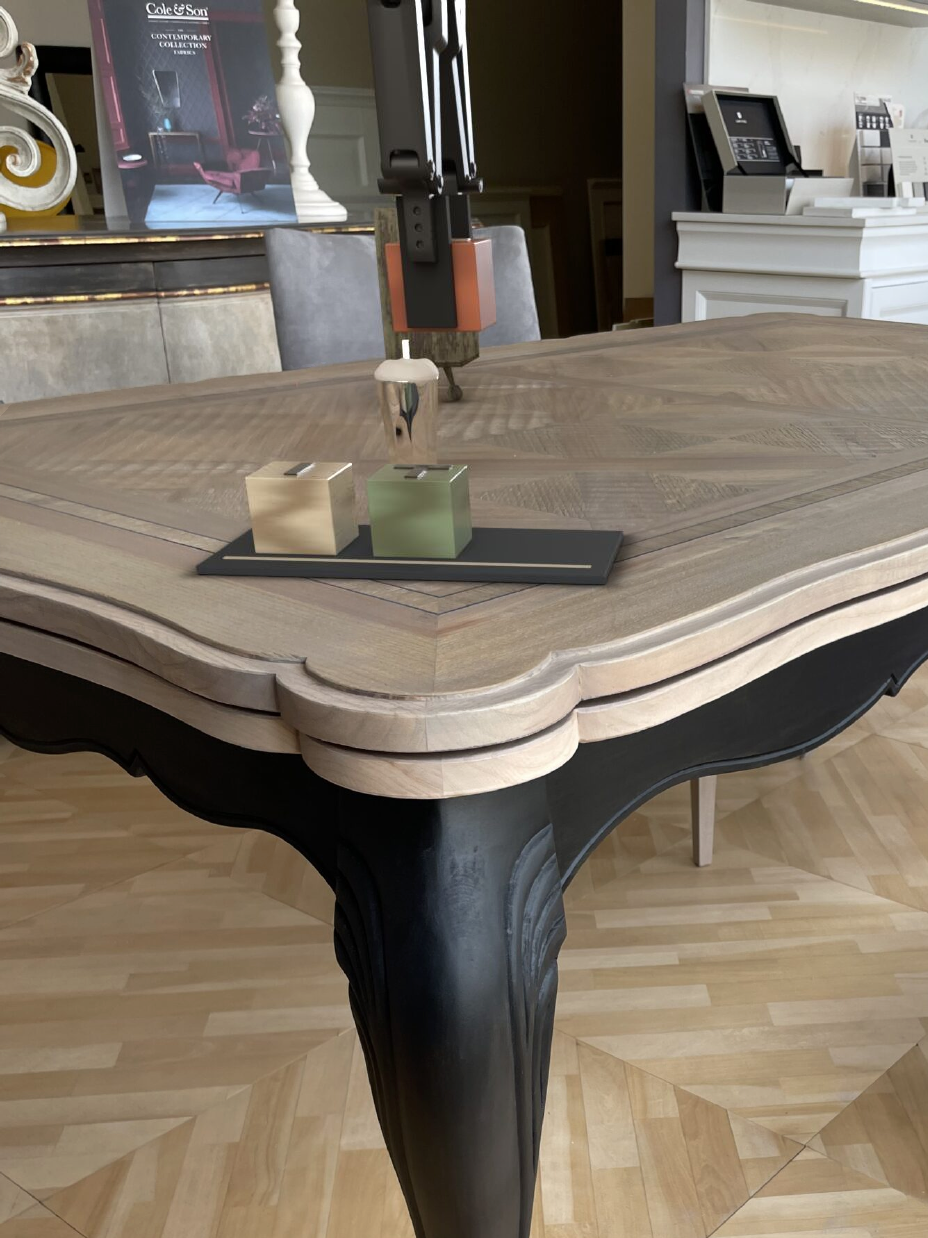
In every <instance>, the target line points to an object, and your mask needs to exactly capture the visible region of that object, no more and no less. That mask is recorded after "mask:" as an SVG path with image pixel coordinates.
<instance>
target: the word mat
mask: <svg viewBox="0 0 928 1238" xmlns="http://www.w3.org/2000/svg"><path fill="white" fill-rule="evenodd" d="M471 527H472V539H471V540H470V542H469V543H468V544H467V545H466V546H465V548H464V549H463V550H462V551H461V553H460V554H459V555H458V556H457V557H456V558H455V559H448V558H407V557H374V556H373V546H372V537H371V527H370V524H358V529H359V536H358V537H357V538H356V539H354V540H353V541H352V542H351V543H350V544H349V545H348V546H346V547H345V548H344V549H343V550H342V551H341V552H340V553H338V554H337V555H297V554H257V553H256V552H255V545H254V538H253V531H252V527H251V528H250V529H249V530H247V531H245V532H244V533H243V534H241V535H240V536H238V537H236V538H235V539H234V540H232V541H231V542H229V543H228V544H226V545H224V546H223V547H222V548H220V549H219V550H217V551H216V552H214V553H213V554H212V555H210V556H209V557H207V558H205V559H204V560H203V561H201V562H200V563H198V564H197V565H195V569H196V574H197V575H217V576H219V575H220V576H253V577H255V576H256V577H292V578H293V577H295V578H297V577H298V578H327V579H329V578H330V579H331V578H332V579H333V578H335V579H341V578H342V579H367V580H368V579H370V580H372V579H373V580H375V579H376V580H406V581H407V580H410V581H413V580H414V581H445V582H446V581H447V582H449V581H451V582H492V583H525V584H526V583H528V584H563V585H564V584H565V585H566V584H567V585H600V586H601V585H603V586H604V585H606V581H607V578H608V576H609V575H610V571H611V570H612V566H613V564H614V562H615V559H616V557H617V554H618V552H619V549H620V547H621V545H622V543H623V539H624V531H623V530H608V529H607V530H606V529H605V530H603V529H561V528H560V529H559V528H523V527H522V528H521V527H520V528H518V527H517V528H515V527H479V526H478V527H477V526H476V527H473V526H471Z"/></svg>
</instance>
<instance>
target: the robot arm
mask: <svg viewBox="0 0 928 1238" xmlns="http://www.w3.org/2000/svg"><path fill="white" fill-rule="evenodd" d="M365 3H366V11H367V12H366V13H367V24H368V33H369V44H370V54H371V57H370V58H371V66H372V67H371V68H372V77H373V87H374V89H373V90H374V98H375V109H376V110H375V111H376V121H377V132H378V143H379V155H380V165H379V166H380V171H381V175H382V178H381V177H380V178H376V180H377V189H378V192H379V194H380V195H392V194H402V196H395V197H396V201H395V207H396V208H397V219H398V230H399V241H400V252H401V263H402V274H403V285H404V296H405V307H406V318H407V328H457V327H458V321H457V308H456V294H455V281H454V267H453V254H452V238H470V239H472V231H473V227H472V228H471V222H472V216H471V215H472V213H471V199H470V198H471V197H470V194H481V193H482V192H483V185H484V184H483V177H476V173H477V165H476V163H475V153H474V139H473V138H474V137H473V124H472V108H471V107H472V106H471V93H470V80H469V78H470V77H469V64H468V49H467V48H468V47H467V33H466V0H365Z"/></svg>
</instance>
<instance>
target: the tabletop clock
mask: <svg viewBox="0 0 928 1238" xmlns="http://www.w3.org/2000/svg"><path fill="white" fill-rule="evenodd" d="M395 196H402V194H391V197H390V202H396V197H395ZM373 208H374V209H373V229H374V230H373V231H374V243H375V253H376V254H375V255H376V267H377V279H378V290H379V300H380V310H381V311H380V312H381V321H382V333H383V342H384V352H385V361H386V360H398V359H401V358H403V346H402V340H409V352H410V359H424V358H425V359H429V360H430V361H432V362H433V363H434V365H435V366H436V367H437V369H438V368H442V369H443V372H444V374H445V377H446V379H447V381H448V384H449V386H448V388H447V391H446V394H447V396H448V398H449V399H450V400H451V401H454V402H459V401H460V400H461V399H463V396H464V390H463V388H462V387H461V386H460V385H459V384H456V381H455V378H454V372H453V369H452V368H463V367H465V366H467V365H468V364H470V363H471V362H473V361H475V360H476V359H479V358H480V337H479V335H480V334H479V332H394V327H393V318H392V309H391V299H390V290H389V280H388V271H387V262H386V252H385V244H386V243H392V242H397V241H399V230H398V219H397V208H396V206H382V205H381V206H379V205H377V206H376V205H375V206H374V207H373ZM471 228H472V229H473V223H472V221H471ZM473 231H474V230H472V239H474V233H473Z"/></svg>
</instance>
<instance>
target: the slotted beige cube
mask: <svg viewBox="0 0 928 1238" xmlns="http://www.w3.org/2000/svg"><path fill="white" fill-rule="evenodd" d="M353 473H354V472H353V465H352V463H351V462H338V461H337V462H333V461H331V462H330V461H326V462H325V461H289V460H288V461H286V460H285V461H283V460H272V461H271V462H269V463H268V464H266V465H264V466H262V467H261V468H259V469H257V470H255V471H253V472H252V473H250V474H248V475H246V476H245V477H244V482H245V489H246V495H247V503H248V510H249V517H250V524H251V528H252V531H253V538H254V545H255V552H256V553H257V554H297V555H337V554H338V553H340V552H341V551H342V550H343V549H344V548H345V547H346V546H348V545H349V544H350V543H351V542H352V541H353V540H354V539H356V538H357V537H358V536H359V529H358V525H359V520H358V511H357V503H356V493H355V492H356V491H355V483H354V474H353Z"/></svg>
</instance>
